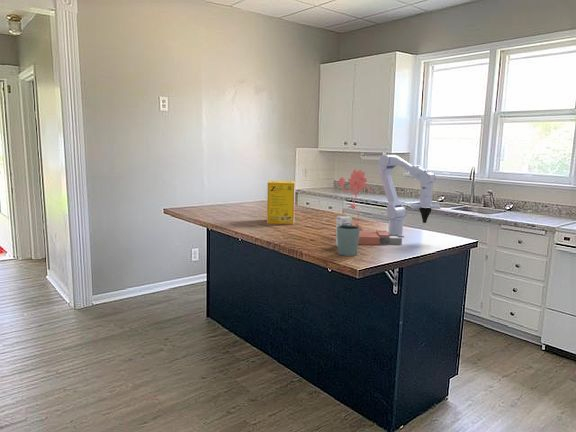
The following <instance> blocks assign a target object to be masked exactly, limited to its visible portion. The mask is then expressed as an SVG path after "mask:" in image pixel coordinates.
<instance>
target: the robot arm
mask: <svg viewBox="0 0 576 432" xmlns="http://www.w3.org/2000/svg"><path fill="white" fill-rule="evenodd" d="M377 163H378V166H379V167H378V169H379V170H378V173H379V177H380V179H381V184H382V186H383V190H384V192H385V196H386V199H387V203H388V204H387V205H386V210H387V211H386V215H387V217H388V219H389V222H388V231H387V233H389V234H398V237H399V238H402V237H405V235H404V234H403V231H404V230H403V229H404V220H405V217H406V215H407V209H406V208H405V207H404V205H403V203H402V202H401V201H400V200H399V197H398V194H397V189H396V187H395V183H394V182H393V178H392V174H391V172H392V171H393V170H394V169H395V168H396V166H398V167H400V168H401V169H404V170H406V171H408V172H409V173H408V174H409V176H412V177H414V178H415V179H417V180H419V182H420V193H419V194H420V196H419V198H420V199H419V203H411V204H410V209H419V212H420V215H421V219H422V224H427V221H428V218H429V216H430V214H431V212H432V211H433V209H434V210H441V207H442V206H441V205H440V204H433V190H434V188H433V187H434V183H435V181H436V175H435V173H433V172H432V171H428V169H424V168H422V167H421V165H419V164H414V165H413V164H411V163H409V162H408V161H406V160H404V158H401V157H400V156H399V155H397V154H381V155H380V157H379V159H378V161H377Z"/></svg>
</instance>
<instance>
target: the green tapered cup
mask: <svg viewBox="0 0 576 432" xmlns="http://www.w3.org/2000/svg"><path fill="white" fill-rule="evenodd" d="M360 227H361V226H360ZM360 227H358V226H356V225H352V226H351V225H341V226H337V240H338V246H337V254H339V255H341V256H347V257H352V256H353V257H354V256H357V255H358V253H359V251H358V250H359V243H358V242H359V232H360Z"/></svg>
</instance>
